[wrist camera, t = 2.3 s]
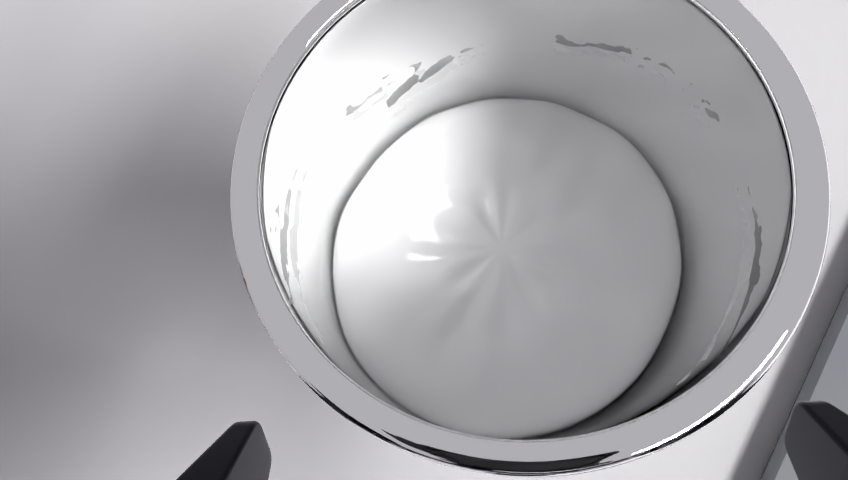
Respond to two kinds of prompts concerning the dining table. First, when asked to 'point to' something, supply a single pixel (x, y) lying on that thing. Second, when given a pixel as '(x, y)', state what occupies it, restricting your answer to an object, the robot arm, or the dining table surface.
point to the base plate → (819, 385)
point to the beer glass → (530, 221)
